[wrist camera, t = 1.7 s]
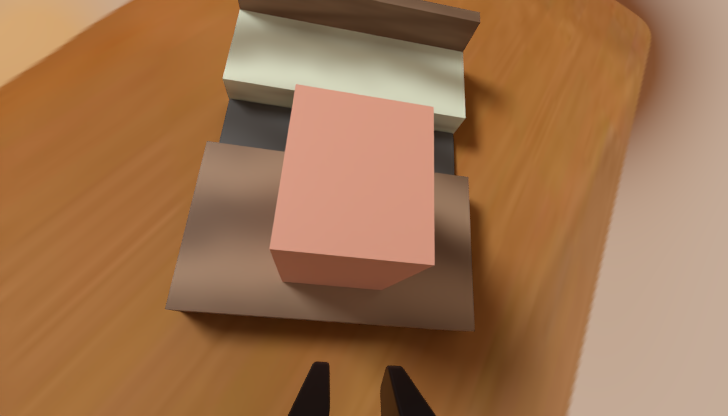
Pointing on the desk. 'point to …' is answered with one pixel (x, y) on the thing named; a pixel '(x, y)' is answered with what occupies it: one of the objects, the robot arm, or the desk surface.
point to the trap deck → (267, 148)
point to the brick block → (355, 191)
